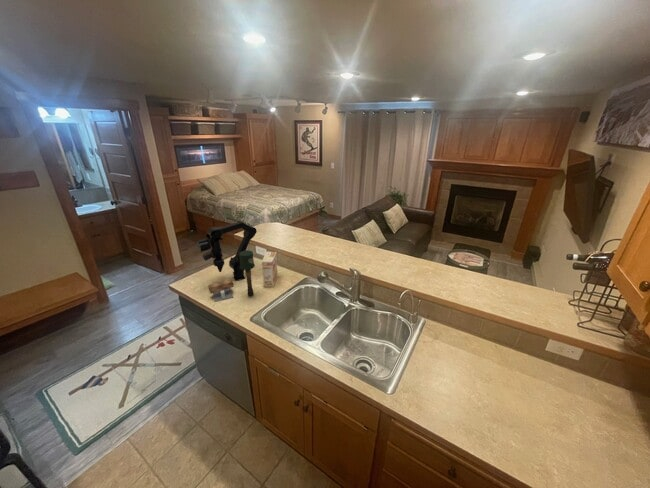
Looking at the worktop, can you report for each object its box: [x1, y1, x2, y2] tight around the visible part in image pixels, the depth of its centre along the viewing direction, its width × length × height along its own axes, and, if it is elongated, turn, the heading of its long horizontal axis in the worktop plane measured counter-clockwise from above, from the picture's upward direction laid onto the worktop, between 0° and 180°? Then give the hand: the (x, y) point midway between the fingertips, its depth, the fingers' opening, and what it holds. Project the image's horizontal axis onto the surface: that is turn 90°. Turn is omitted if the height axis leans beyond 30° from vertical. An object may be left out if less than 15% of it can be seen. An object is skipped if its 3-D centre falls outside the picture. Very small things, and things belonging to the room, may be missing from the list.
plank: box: [208, 278, 235, 294], centre depth 163 cm, size 14×4×4 cm, turn 123°
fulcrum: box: [212, 288, 234, 303], centre depth 165 cm, size 11×12×4 cm
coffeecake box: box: [261, 251, 279, 288], centre depth 177 cm, size 15×7×20 cm, turn 179°
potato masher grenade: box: [239, 249, 256, 297], centre depth 159 cm, size 8×9×30 cm
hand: (219, 268), depth 172 cm, fingers open, 9 cm apart
